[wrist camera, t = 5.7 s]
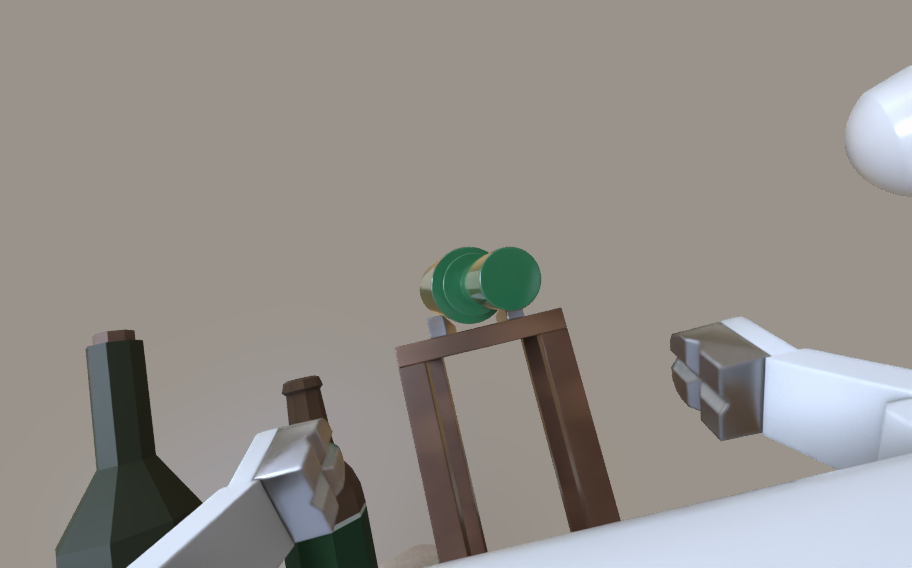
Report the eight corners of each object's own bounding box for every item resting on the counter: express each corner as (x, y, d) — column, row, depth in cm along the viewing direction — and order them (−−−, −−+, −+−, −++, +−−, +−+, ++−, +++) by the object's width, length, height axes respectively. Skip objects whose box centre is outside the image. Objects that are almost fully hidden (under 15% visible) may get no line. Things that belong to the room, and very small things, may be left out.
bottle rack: (616, 624, 33) (531, 307, 37) (693, 783, 21) (556, 287, 25) (489, 653, 33) (419, 334, 37) (494, 826, 21) (389, 327, 25)
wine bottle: (39, 873, 24) (7, 350, 29) (184, 737, 32) (139, 342, 36) (129, 912, 21) (77, 321, 26) (265, 751, 29) (205, 319, 33)
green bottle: (432, 324, 34) (411, 273, 34) (482, 303, 34) (461, 253, 34) (479, 357, 15) (434, 245, 15) (584, 310, 16) (541, 203, 16)
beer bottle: (281, 679, 35) (238, 392, 39) (337, 617, 43) (296, 380, 47) (359, 680, 33) (306, 375, 37) (404, 615, 40) (356, 365, 44)
